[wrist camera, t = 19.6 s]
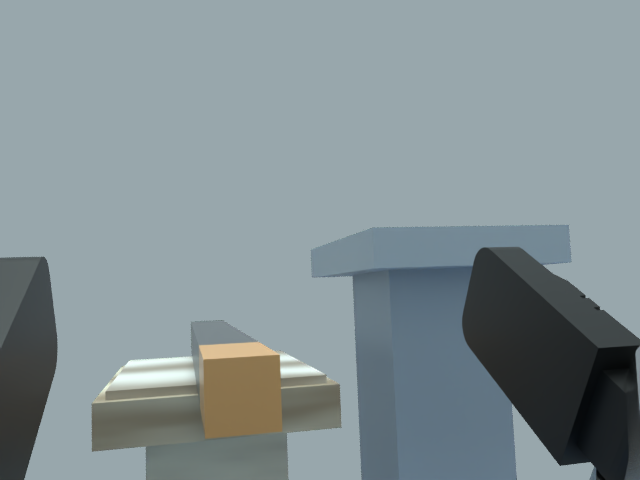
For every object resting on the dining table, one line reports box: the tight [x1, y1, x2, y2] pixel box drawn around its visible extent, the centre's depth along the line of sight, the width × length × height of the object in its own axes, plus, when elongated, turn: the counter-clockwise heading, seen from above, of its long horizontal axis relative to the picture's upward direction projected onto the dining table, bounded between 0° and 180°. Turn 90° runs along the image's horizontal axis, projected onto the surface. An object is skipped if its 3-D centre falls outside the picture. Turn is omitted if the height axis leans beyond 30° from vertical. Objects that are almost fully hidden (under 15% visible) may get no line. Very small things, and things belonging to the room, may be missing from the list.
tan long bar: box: [191, 320, 282, 439], centre depth 30 cm, size 26×2×2 cm, turn 13°
